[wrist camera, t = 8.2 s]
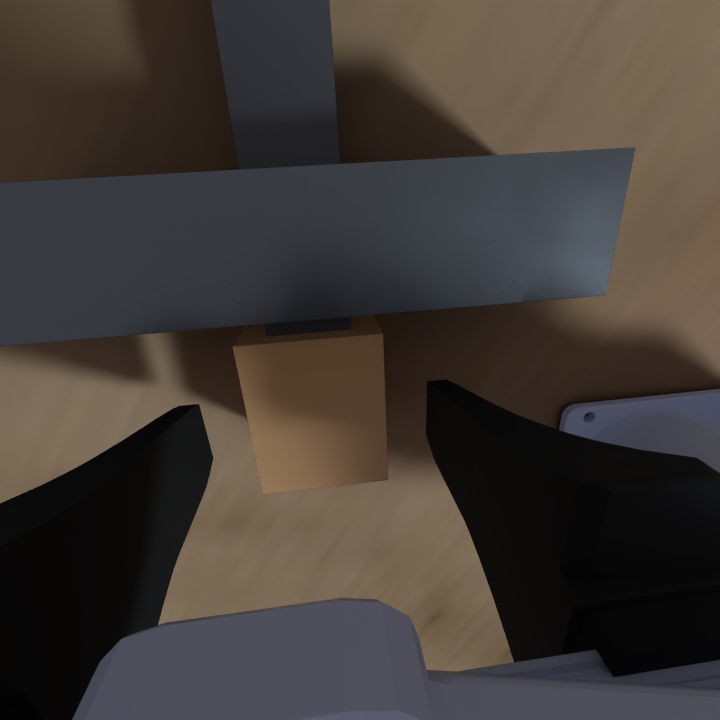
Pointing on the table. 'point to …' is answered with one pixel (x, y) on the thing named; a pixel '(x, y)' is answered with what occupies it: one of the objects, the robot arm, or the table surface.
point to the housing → (304, 242)
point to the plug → (309, 337)
